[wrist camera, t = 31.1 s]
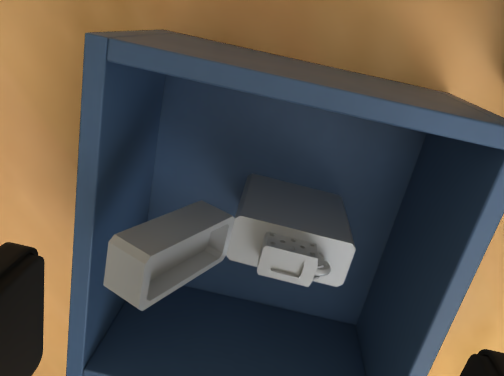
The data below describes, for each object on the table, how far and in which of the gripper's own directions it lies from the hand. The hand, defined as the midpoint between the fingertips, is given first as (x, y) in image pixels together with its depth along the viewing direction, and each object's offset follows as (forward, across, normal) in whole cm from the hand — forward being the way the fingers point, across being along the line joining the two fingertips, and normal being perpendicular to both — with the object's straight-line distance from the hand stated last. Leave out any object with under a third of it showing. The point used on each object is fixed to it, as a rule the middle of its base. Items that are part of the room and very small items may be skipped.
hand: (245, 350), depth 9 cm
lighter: (+10, 0, 0) cm, 10 cm away
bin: (+10, 0, +1) cm, 10 cm away
